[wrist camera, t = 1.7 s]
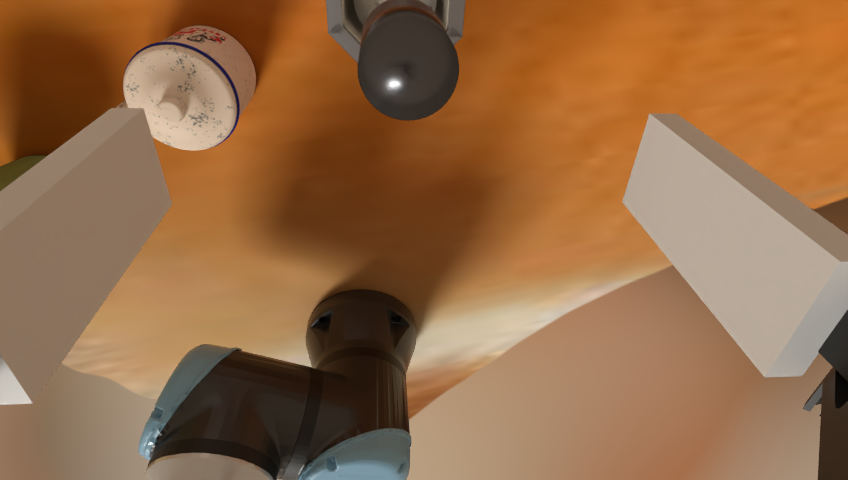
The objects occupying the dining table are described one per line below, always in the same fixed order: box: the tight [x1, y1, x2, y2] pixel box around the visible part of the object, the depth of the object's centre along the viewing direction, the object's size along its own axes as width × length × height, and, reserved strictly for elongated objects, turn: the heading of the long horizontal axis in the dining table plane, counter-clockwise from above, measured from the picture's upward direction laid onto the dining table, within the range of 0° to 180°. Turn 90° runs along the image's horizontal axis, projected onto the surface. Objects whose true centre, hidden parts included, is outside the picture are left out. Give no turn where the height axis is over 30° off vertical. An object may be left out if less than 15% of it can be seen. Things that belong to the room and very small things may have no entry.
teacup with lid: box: [116, 25, 256, 150], centre depth 43 cm, size 12×9×12 cm
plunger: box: [354, 0, 459, 120], centre depth 27 cm, size 6×6×20 cm
